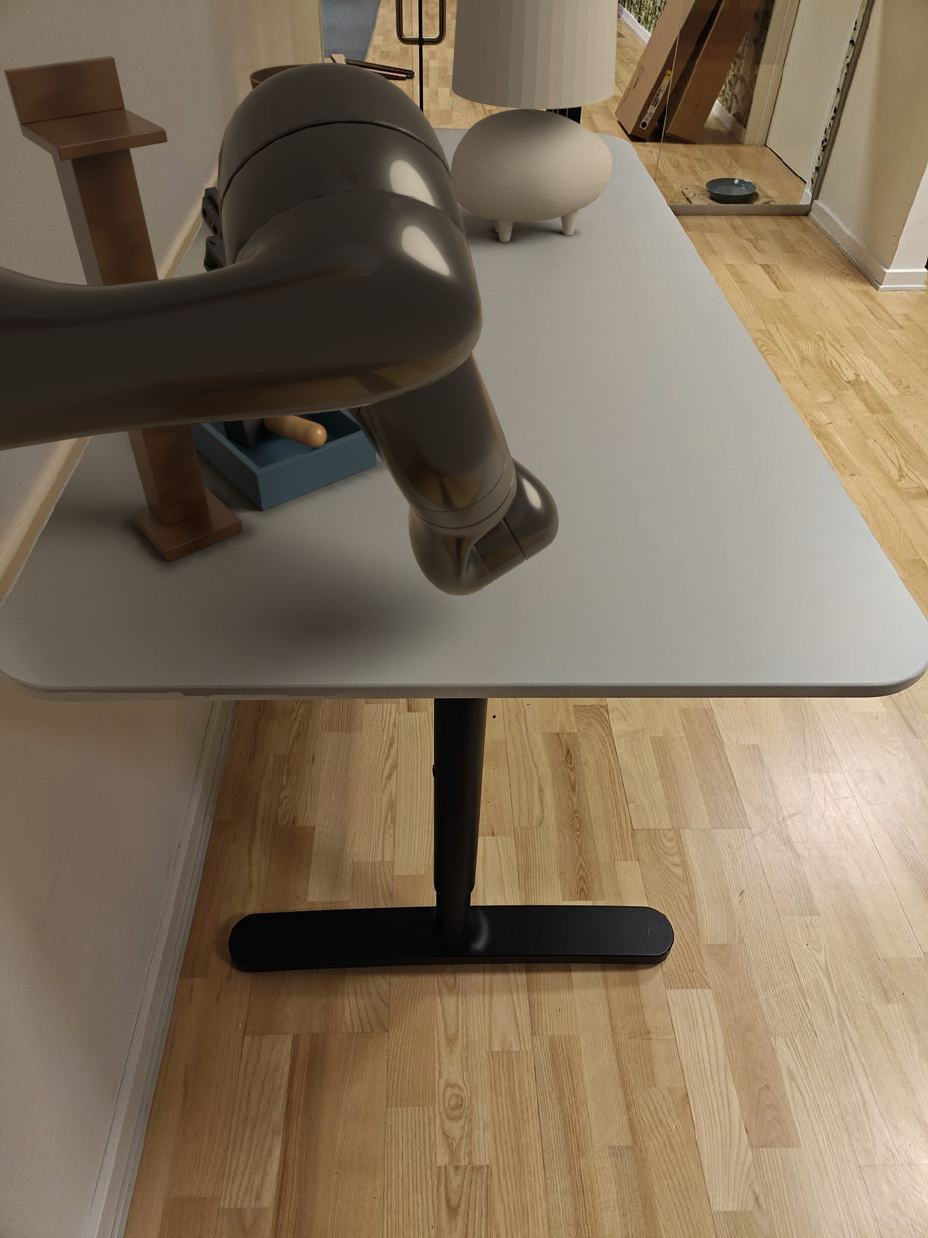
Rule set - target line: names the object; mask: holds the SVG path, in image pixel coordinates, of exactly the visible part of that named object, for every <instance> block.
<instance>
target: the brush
mask: <svg viewBox="0 0 928 1238" xmlns="http://www.w3.org/2000/svg"><path fill="white" fill-rule="evenodd" d="M223 425H224V428H225V432H226V435H227V437H229V438H232V439H234V440H237V441H239V442H242V443H244V444H247V445H249V446H250V445H253V444H256V443H258V442H261V441H263V440H266V439H269V438H271V437H274V436H277V435H279V436H282V437H285V438H287V439H290V440H293V441H295V442H298V443H301V444H304V445H306V446H309V447H312V448H317V447H320V446H322V445H323V444H324V443H325V441H326V438H327V434H326V430H325V429H324V427H323V426H321V425H320V424H318V423H315V422H312V421H308V420H305V419H302V418H301V417H300V415H290V416H280V417H269V418H258V419H246V420H235V421H224V422H223Z"/></svg>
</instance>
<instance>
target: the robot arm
mask: <svg viewBox="0 0 928 1238" xmlns="http://www.w3.org/2000/svg"><path fill="white" fill-rule="evenodd" d="M306 64H307V65H303V66H298V67H294V68H290V69H287V70H284V71H282V72H279V73H277V74H275V75H273V76H271V77H269V78H268V79H266V80H265V81H264V82H262V83H261V84H260V85H258V86H257V87H256V88H254V89H251V90H249V92H248V93H247V95H246V96H245V97H244V98H243V99H242V100H241V101H240V103H239V104H238V105H237V106H236V108H235V109H234V111H233V113H232V115H231V117H230V119H229V121H228V124H227V125H226V127H225V129H224V131H223V132H224V133H223V136H222V140H221V144H220V148H219V151H218V152H219V153H218V161H217V162H218V164H217V185H216V186H211V187H210V186H209V187H206V188H204V193H203V196H202V197H201V198H202V199H201V208H200V210H201V211H200V213H201V218H202V219H203V221H204V223H205V224H206V226H207V227H208V229H209V231H210V233H212V235H208V236H207V237H206V239H205V252H204V258H203V264H202V265H203V268H204V269H205V272H201V273H194V274H188V275H184V276H177V277H172V278H162V279H159V280H152V281H143V282H133V283H124V284H115V285H87V284H77V283H68V282H60V281H55V280H51V279H50V280H49V279H45V278H40V277H36V276H33V275H30V274H27V273H24V272H21V271H17V270H15V269H11V268H7V267H4V266H3V265H0V452H4V451H7V450H8V451H9V450H14V449H19V448H25V447H31V446H38V445H44V444H50V443H56V442H60V441H68V440H74V439H80V438H87V437H92V436H93V437H94V436H100V435H108V434H114V433H123V432H127V431H132V430H141V429H151V428H160V427H170V426H180V425H191V424H201V423H212V422H224V421H235V420H246V419H258V418H269V417H280V416H290V415H300V414H310V413H319V412H328V411H335V410H342V409H346V410H347V411H348V412H349V413H350V414H351V415H352V417H353V418H354V419H355V421H356V422H357V423H358V425H359V427H360V428H361V430H362V431H363V433H364V434H365V436H366V437H367V439H368V441H369V442H370V444H371V445H372V447H373V448H374V450H375V451H376V456H378V458H379V459H380V461H381V462H382V463H383V465H384V467H385V469H386V470H387V471H388V472H389V474H390V476H391V478H392V479H393V481H394V483H395V485H396V486H397V488H398V490H399V492H400V493H401V494H402V496H403V498H404V499H405V501H406V503H407V504H408V519H407V523H408V533H409V534H408V535H409V541H410V546H411V550H412V553H413V556H414V558H415V561H416V564H417V565H418V567H419V569H420V571H421V573H422V574H423V575H424V578H426V579H427V580H428V582H429V583H431V585H432V586H433V587H435V589H437V590H439V591H440V592H442V593H444V594H447V595H450V596H456V597H462V596H469V595H472V594H473V595H474V594H475V593H478V592H480V591H481V590H483V589H484V588H486V587H488V586H489V585H491V584H492V583H494V582H495V581H497V580H499V579H500V578H501V577H503V576H505V575H506V574H507V573H509V572H511V571H512V570H514V569H516V568H517V567H519V566H520V565H522V564H523V563H525V561H528V560H530V559H531V558H533V557H534V556H536V555H537V554H539V553H540V552H542V551H543V550H545V549H546V548H548V547H549V546H550V545H551V544H552V543H553V542H554V541H555V539H556V537H557V534H558V532H559V522H560V520H559V511H558V507H557V504H556V501H555V500H554V497H553V496H552V494H551V492H550V491H549V489H548V488H547V486H546V485H545V484H544V483H543V482H542V481H541V480H540V479H539V478H538V477H537V476H536V475H535V474H533V472H531V470H529V469H528V468H527V467H525V465H523V464H522V463H521V462H519V461H518V460H517V459H515V458H514V457H513V456H512V454H511V452H510V449H509V446H508V442H507V440H506V436H505V433H504V430H503V428H502V424H501V423H500V419H499V417H498V415H497V411H496V409H495V406H494V404H493V401H492V399H491V397H490V393H489V391H488V389H487V386H486V384H485V381H484V379H483V376H482V374H481V373H482V372H481V370H480V368H479V365H478V363H477V361H476V358H475V355H474V353H473V351H474V349H475V348H476V346H477V344H478V343H479V341H480V338H481V335H482V330H483V324H484V323H483V321H484V316H483V304H482V296H481V293H480V289H479V284H478V278H477V274H476V270H475V265H474V260H473V255H472V252H471V250H470V248H469V247H470V246H469V242H468V238H467V234H466V230H465V229H466V228H465V225H464V222H463V218H462V213H461V210H460V204H459V203H458V201H457V197H456V193H455V189H454V184H453V179H452V175H451V167H450V165H449V163H448V160H447V157H446V155H445V152H444V151H445V150H444V149H443V146H442V144H441V142H440V140H439V138H438V135H437V133H436V131H435V129H434V128H433V126H432V124H431V123H430V121H429V119H428V118H427V117H426V116H425V114H424V112H423V110H421V108H420V107H419V105H418V104H417V103H416V102H415V101H414V100H413V99H412V98H411V97H410V96H409V95H408V94H407V93H406V92H405V91H404V90H403V89H402V88H401V87H400V86H399V85H396V84H395V83H393V82H392V81H390V80H389V79H387V78H386V77H384V76H382V75H381V74H379V73H376V72H373V71H371V70H368V69H366V68H364V67H360V66H359V65H353V64H346V63H341V62H315V63H314V62H313V63H306Z"/></svg>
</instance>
